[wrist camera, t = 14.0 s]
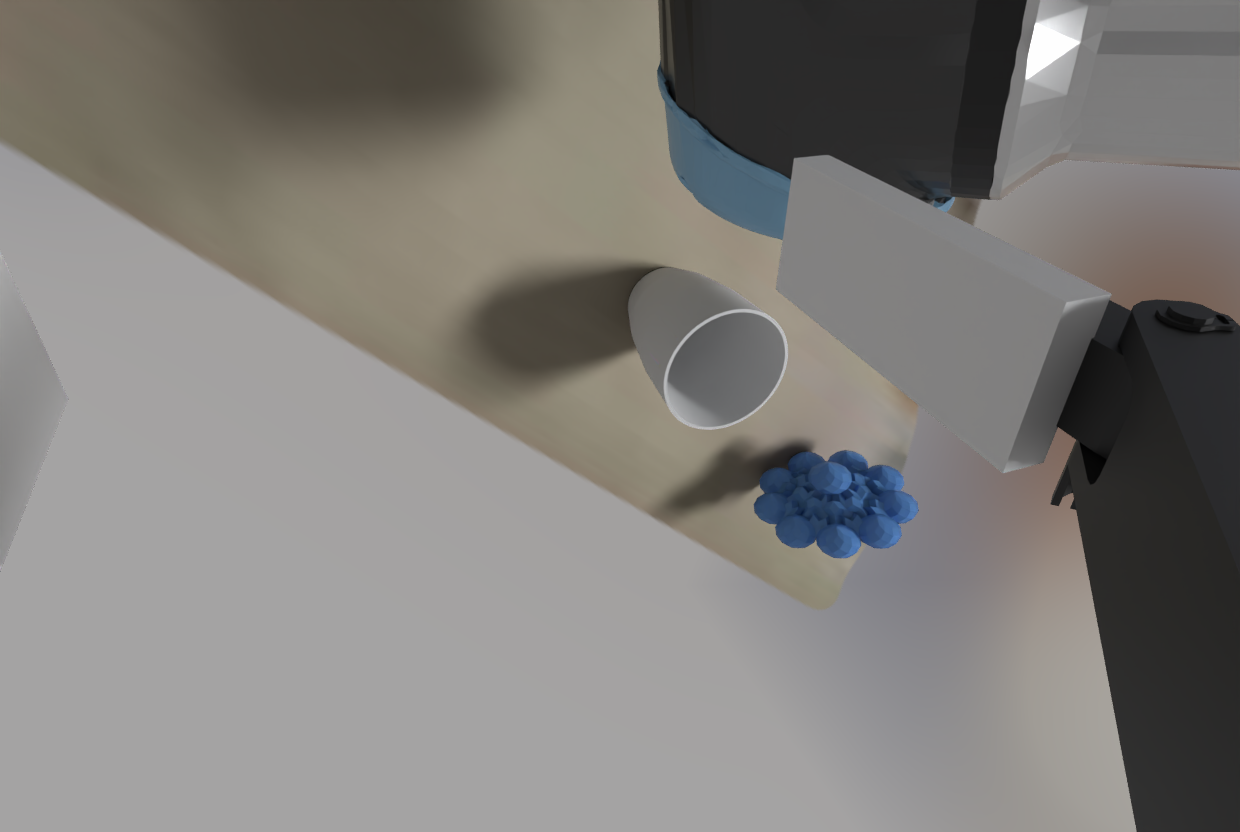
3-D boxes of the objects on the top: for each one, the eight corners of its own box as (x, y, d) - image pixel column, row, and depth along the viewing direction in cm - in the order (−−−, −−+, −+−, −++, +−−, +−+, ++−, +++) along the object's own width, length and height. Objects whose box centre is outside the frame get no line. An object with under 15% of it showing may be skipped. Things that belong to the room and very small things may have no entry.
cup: (652, 373, 57) (712, 451, 49) (582, 307, 52) (637, 382, 44) (735, 295, 55) (810, 362, 48) (672, 220, 50) (744, 281, 43)
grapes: (850, 392, 65) (946, 477, 56) (854, 450, 69) (945, 538, 60) (726, 449, 63) (804, 546, 54) (739, 505, 68) (813, 604, 58)
